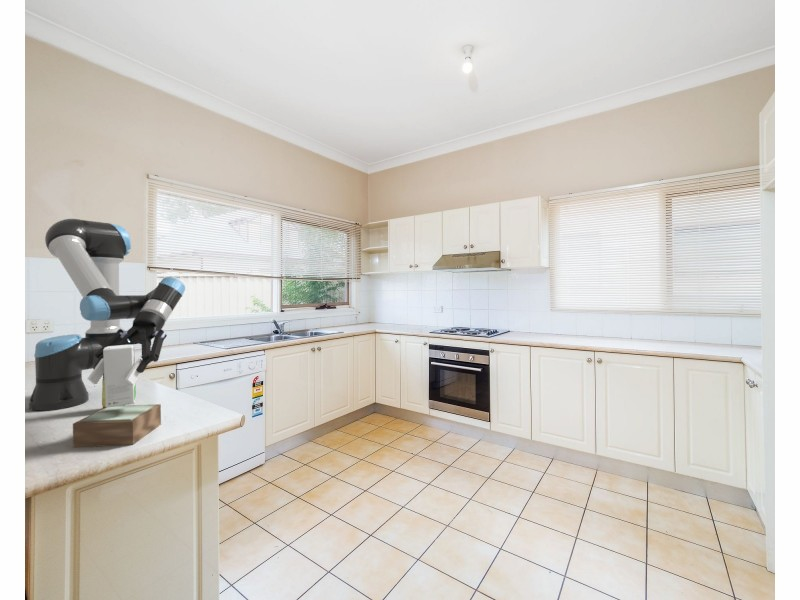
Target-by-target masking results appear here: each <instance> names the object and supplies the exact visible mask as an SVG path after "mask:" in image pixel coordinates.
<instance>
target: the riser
mask: <svg viewBox="0 0 800 600" xmlns="http://www.w3.org/2000/svg"><path fill="white" fill-rule="evenodd" d="M161 408H162V405H161V404H160V403H159V404H157V403H156V404H136V405H135V404H129V405H123V406H115V407H107V408H104V409H102V408H101V409H99V410H97V411H96V412H94V413H92V414H90V415H88V416H85V417H84V418H82V419H80V420H78V421H75V422H73V423H72V443H73V444H72V445H73V446H72V447H73V448H89V447H90V448H91V447H110V446H111V447H112V446H115V447H116V446H133V445H135V444H136V443H137V442H139V441H141V440H142V439H143V438H144V437H146V436H147V435H149V434H150V433H151V432H152V431H154V430H156V428H158V427H160V426H161V425H162V418H161V417H162V413H161V412H162V409H161ZM159 425H160V426H159Z"/></svg>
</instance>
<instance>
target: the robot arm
mask: <svg viewBox="0 0 800 600" xmlns="http://www.w3.org/2000/svg"><path fill="white" fill-rule="evenodd" d="M44 238H45V239H44V241H45V242H44V243H45V245H46V248H47V249H48V251H49V253H50V254H51V255H52V256H53V257H55V258H58V260H59V262H60V264H62V267H63V268H64V270H65V271H66V273H67V275H68V276H69V278H70V279H71V281H72V282H73V284H74V285H75V287H76V289H77V290H78V292H79V294H81V297H82V298H81V299H80V302H79V311H80V315H81V317H82V318H83V319H84V320H86V321H89V322H90V327H89V328H88V329H86V331H85V332H84V333H85V337H82V335H80V334H68V335H65V334H64V335H57V336H51V337H48V338H44V339H41V340H40V341H38V342H37V343H36V344H35V348H34V349H35V351H34V355H33V356H34V359H35V363H34V364H35V365H34V366H35V367H34V368H35V387H33V391H32V393H31V395H30V399H29V401H28V409H29V410H30V409H32V410H31V411H36V410H43V411H51V410H60V409H66V408H70V407H74V406H79V405H81V404H84V403H87V402H88V401H89V391H88V390H87V386H86V385H85V383H84V381H83V378H82V377H83V375H82V372H83V371H85V370H92V369H93V371H92V372H91V373H90V375H89V376H88V377H87V381H89V382H91V383H92V384H93V385H97V384H98V383H99V381H100V380H101V378H103V374H104V358H103V349H105V348H106V347H108V346H118V345H129V344H134V345H141V356H139V358H137V359H136V361H135V364H134V366H133V368H132V369H131V371H130V372H129V374H128V376H127V377H126V379H125V380H126V381H127V382H128V383H130V384H131V385H134V383H135V384H136V381H137V380H138V378H139V377H140V375H141V373H142V374H143V373H144V371H145V370H146V369H147V367H148V365H149V364H151V363H152V362H154V363H155V362H158V361H159V358H160V356H161V355H160V354H161V352H162V347H163V344H164V340H165V339H166V337H167V336H168V335H167V334H166V332H165V331H164V329H163V327H165V323H166V322H167V321H168V319H169V317H170V315H171V314H172V313H173V311H174V310H175V308H176V306H177V304H178V303H179V302H180V300H181V298H182V297H183V296H184V292H185V291H186V286H185V284H184V283H183V282H182V281H181V280H180V279H178V278H176V277H173V276H172V277H171V276H166V277H164V278H162V279H161V281H159V282H158V284H157V286H156V287H155V288H154V289H152V290H151V291H149V292H148V293H147V294H143V295H142V294H140V295H134V294H133V295H132V294H131V295H120V264H121V263H122V262H123V261H124V258H125V256H127V255H129V253H130V251H131V248H132V241H131V236H130V235H129V232H128V231H127V230H126V228H124V227H123V226H121V225H119V224H113V223H111V222H101V221H100V222H99V221H93V220H84V219H78V218H65V219H62V220H60V221H59V220H58V221H57V222H55V223H54V224H52V225H51V226H49V228H48V230H47V232H46V233H45V237H44ZM123 319H124V320H126V319H127V320H128V319H129V320H130V319H133V320H132V326H131V327H130V328H128V329H127V330H125V329H124V328H123V327H121V325H120V324H121V323H120V320H123ZM152 339H153V341H152ZM152 342H153V343H152Z"/></svg>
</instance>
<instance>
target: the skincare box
mask: <svg viewBox="0 0 800 600" xmlns="http://www.w3.org/2000/svg"><path fill="white" fill-rule="evenodd" d="M103 358H104V382H105V407H106V408H107V407H115V406H122V405H135V401H136V398H137V385H136V382H135V383H134V385H131V384H130V383H128V382H127V381H126V380H125V379H126V377H127V376H128V374H129V372H130V371H131V369H132V368H133V366H134V364H135V363H136V361H135V344H129V345H118V346H108V347H106V348H105V349H103Z"/></svg>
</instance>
